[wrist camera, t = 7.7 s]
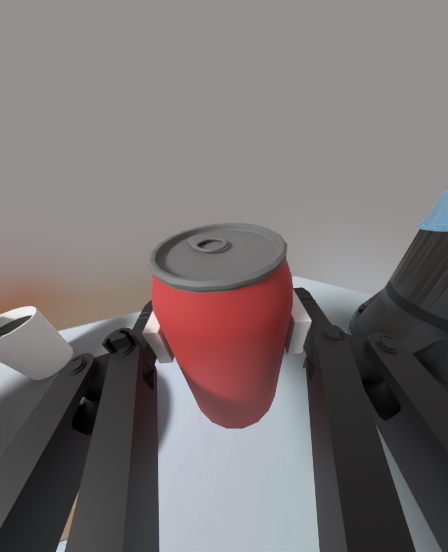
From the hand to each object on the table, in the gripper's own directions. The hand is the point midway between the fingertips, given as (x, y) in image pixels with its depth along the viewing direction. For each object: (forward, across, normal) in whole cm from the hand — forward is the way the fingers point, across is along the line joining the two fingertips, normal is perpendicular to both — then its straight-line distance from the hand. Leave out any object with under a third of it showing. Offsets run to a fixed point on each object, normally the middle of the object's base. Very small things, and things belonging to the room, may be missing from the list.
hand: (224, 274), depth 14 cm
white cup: (+4, -31, -18) cm, 36 cm away
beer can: (-5, 0, -7) cm, 9 cm away
